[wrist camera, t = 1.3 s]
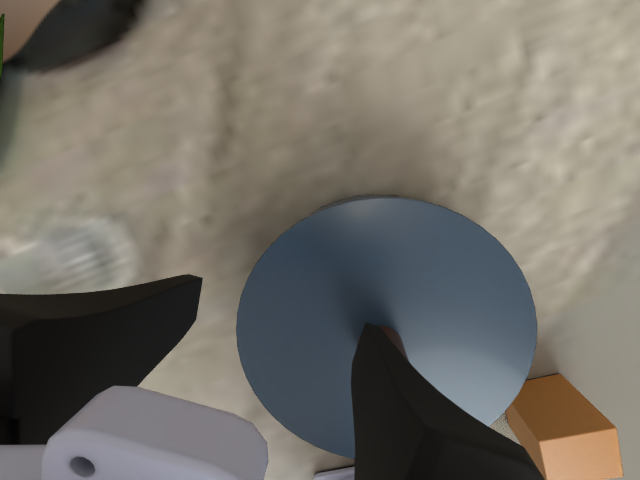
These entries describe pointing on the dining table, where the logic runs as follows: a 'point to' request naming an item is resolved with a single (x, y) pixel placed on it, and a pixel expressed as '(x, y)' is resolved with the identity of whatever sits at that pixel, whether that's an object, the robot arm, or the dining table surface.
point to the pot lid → (383, 313)
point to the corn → (1, 41)
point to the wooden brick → (564, 431)
